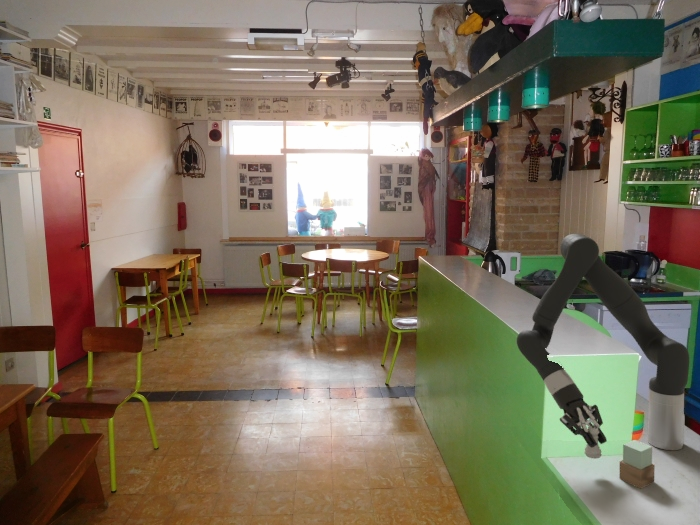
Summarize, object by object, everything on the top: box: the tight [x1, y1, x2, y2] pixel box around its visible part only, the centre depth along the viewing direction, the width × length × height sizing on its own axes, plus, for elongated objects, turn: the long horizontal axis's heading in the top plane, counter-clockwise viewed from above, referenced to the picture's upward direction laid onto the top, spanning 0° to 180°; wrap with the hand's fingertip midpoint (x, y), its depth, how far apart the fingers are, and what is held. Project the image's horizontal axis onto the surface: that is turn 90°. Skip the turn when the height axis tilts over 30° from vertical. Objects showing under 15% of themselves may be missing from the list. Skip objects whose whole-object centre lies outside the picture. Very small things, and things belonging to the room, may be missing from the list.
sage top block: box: [622, 439, 653, 469], centre depth 141 cm, size 5×5×5 cm
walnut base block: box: [618, 459, 656, 489], centre depth 142 cm, size 6×6×5 cm
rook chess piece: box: [584, 426, 603, 460], centre depth 146 cm, size 4×4×8 cm
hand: (599, 444), depth 144 cm, fingers closed on rook chess piece, 3 cm apart
